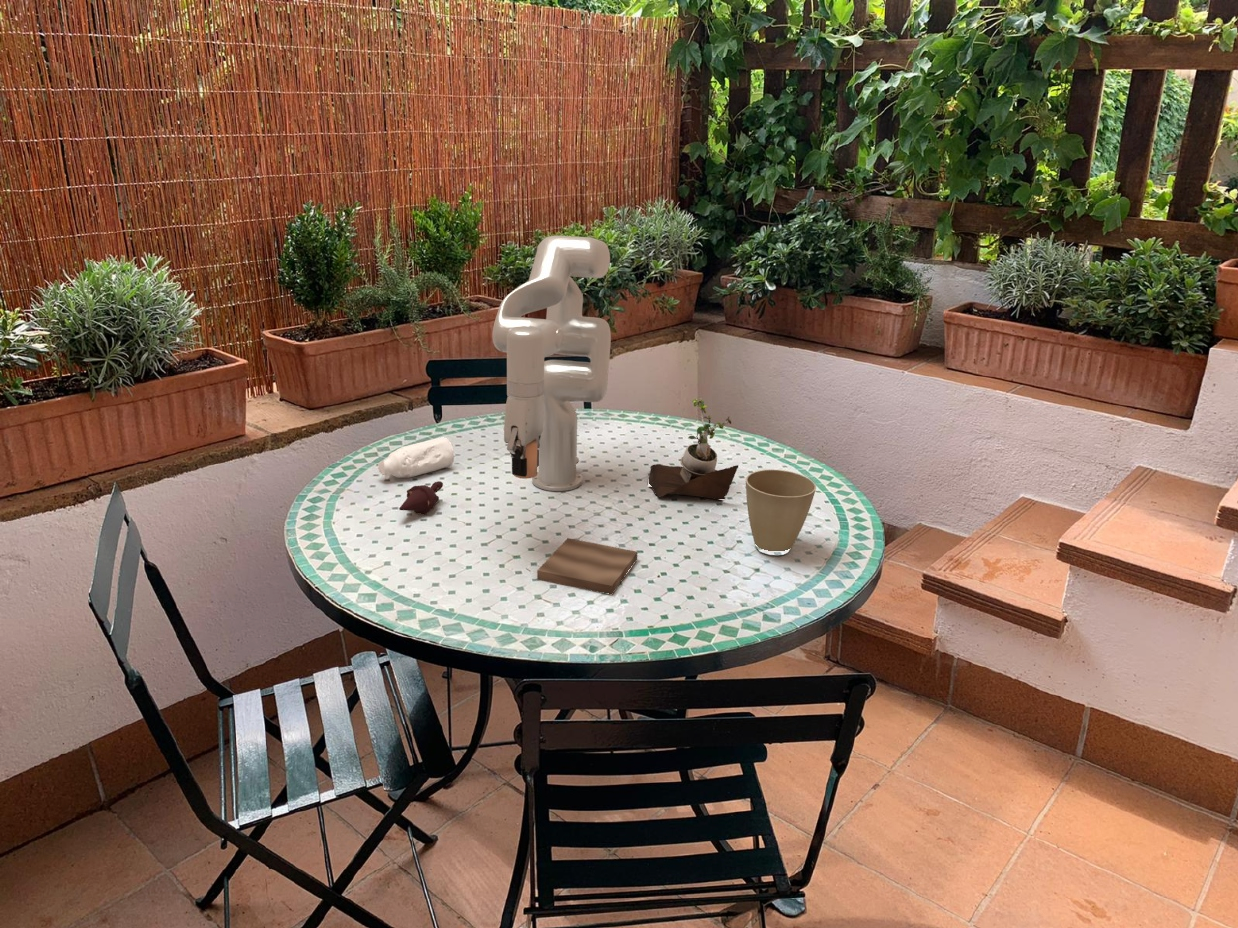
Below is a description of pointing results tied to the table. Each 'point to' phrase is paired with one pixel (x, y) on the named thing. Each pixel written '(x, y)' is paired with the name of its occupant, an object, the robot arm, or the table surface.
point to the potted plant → (695, 468)
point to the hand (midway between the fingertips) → (525, 469)
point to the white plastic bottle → (418, 459)
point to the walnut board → (587, 565)
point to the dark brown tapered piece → (421, 498)
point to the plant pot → (777, 507)
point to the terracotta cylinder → (530, 459)
